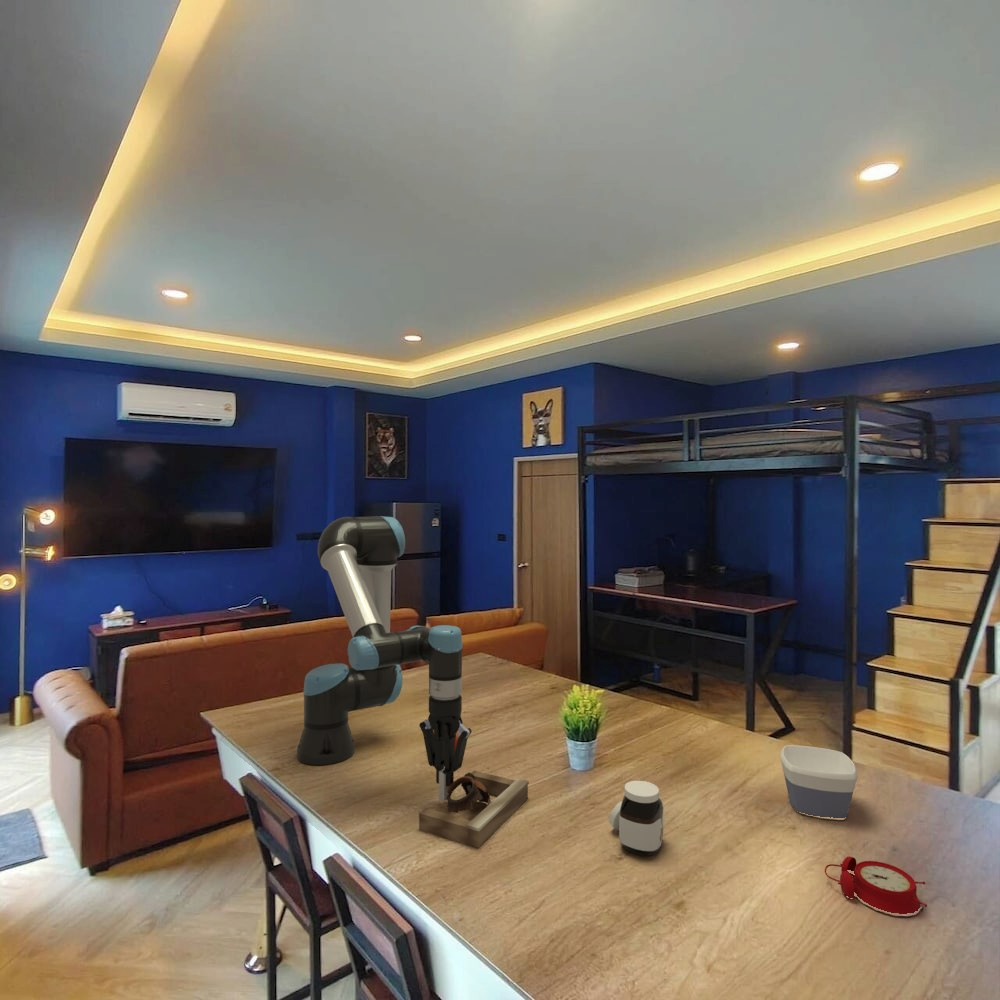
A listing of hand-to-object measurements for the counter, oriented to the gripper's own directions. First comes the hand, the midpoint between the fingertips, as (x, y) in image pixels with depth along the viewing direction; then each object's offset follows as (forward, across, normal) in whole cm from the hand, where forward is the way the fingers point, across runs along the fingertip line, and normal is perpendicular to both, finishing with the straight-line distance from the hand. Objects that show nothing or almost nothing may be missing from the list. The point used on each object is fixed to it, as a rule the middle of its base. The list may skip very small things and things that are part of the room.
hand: (444, 798), depth 140 cm
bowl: (+2, +75, +39) cm, 85 cm away
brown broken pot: (+2, +6, +1) cm, 6 cm away
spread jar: (+2, +42, +6) cm, 43 cm away
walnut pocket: (+1, +8, 0) cm, 8 cm away
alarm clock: (+2, +84, +10) cm, 85 cm away
